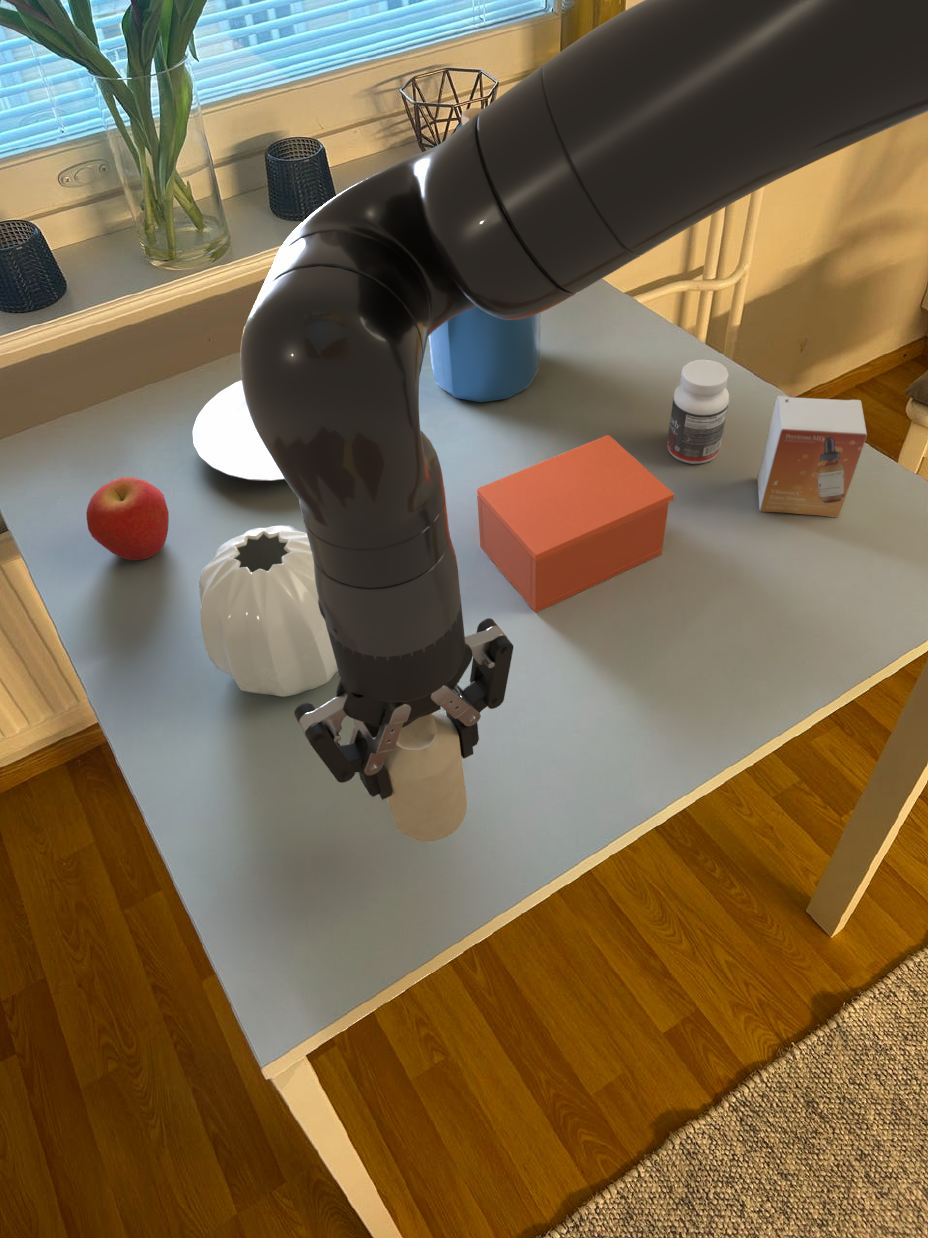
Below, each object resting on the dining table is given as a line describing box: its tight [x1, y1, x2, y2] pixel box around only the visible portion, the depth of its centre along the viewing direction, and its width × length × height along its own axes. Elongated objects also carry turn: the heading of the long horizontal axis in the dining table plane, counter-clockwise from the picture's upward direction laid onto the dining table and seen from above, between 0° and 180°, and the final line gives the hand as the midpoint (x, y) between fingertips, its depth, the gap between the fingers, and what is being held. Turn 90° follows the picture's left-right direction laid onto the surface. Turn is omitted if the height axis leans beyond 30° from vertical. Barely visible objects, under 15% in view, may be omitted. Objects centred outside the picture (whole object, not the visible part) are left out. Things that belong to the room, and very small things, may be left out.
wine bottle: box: [428, 107, 542, 403], centre depth 102 cm, size 14×13×30 cm
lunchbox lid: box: [476, 434, 675, 561], centre depth 88 cm, size 15×11×1 cm
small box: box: [757, 395, 868, 518], centre depth 92 cm, size 8×6×10 cm
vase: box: [198, 525, 339, 698], centre depth 81 cm, size 14×14×13 cm
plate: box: [192, 379, 285, 482], centre depth 107 cm, size 21×21×2 cm
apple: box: [85, 476, 170, 561], centre depth 94 cm, size 8×8×8 cm
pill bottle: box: [666, 359, 730, 465], centre depth 99 cm, size 6×6×10 cm
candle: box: [383, 710, 468, 843], centre depth 64 cm, size 6×6×10 cm
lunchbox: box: [476, 495, 670, 613], centre depth 90 cm, size 15×11×7 cm
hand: (422, 766), depth 63 cm, fingers closed on candle, 5 cm apart
